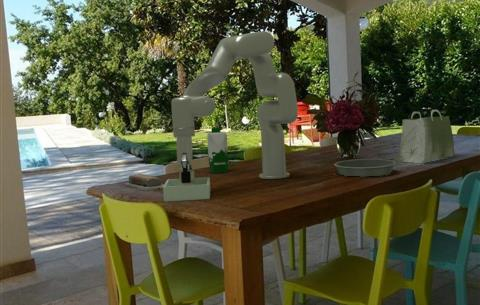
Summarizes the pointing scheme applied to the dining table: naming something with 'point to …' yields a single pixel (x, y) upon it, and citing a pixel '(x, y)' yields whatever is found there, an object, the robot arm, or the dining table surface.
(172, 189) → the sage bin
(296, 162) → the dining table surface
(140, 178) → the packaged product
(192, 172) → the cream block
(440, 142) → the grocery bag
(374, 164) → the cake pan
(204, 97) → the robot arm
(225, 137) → the milk carton
